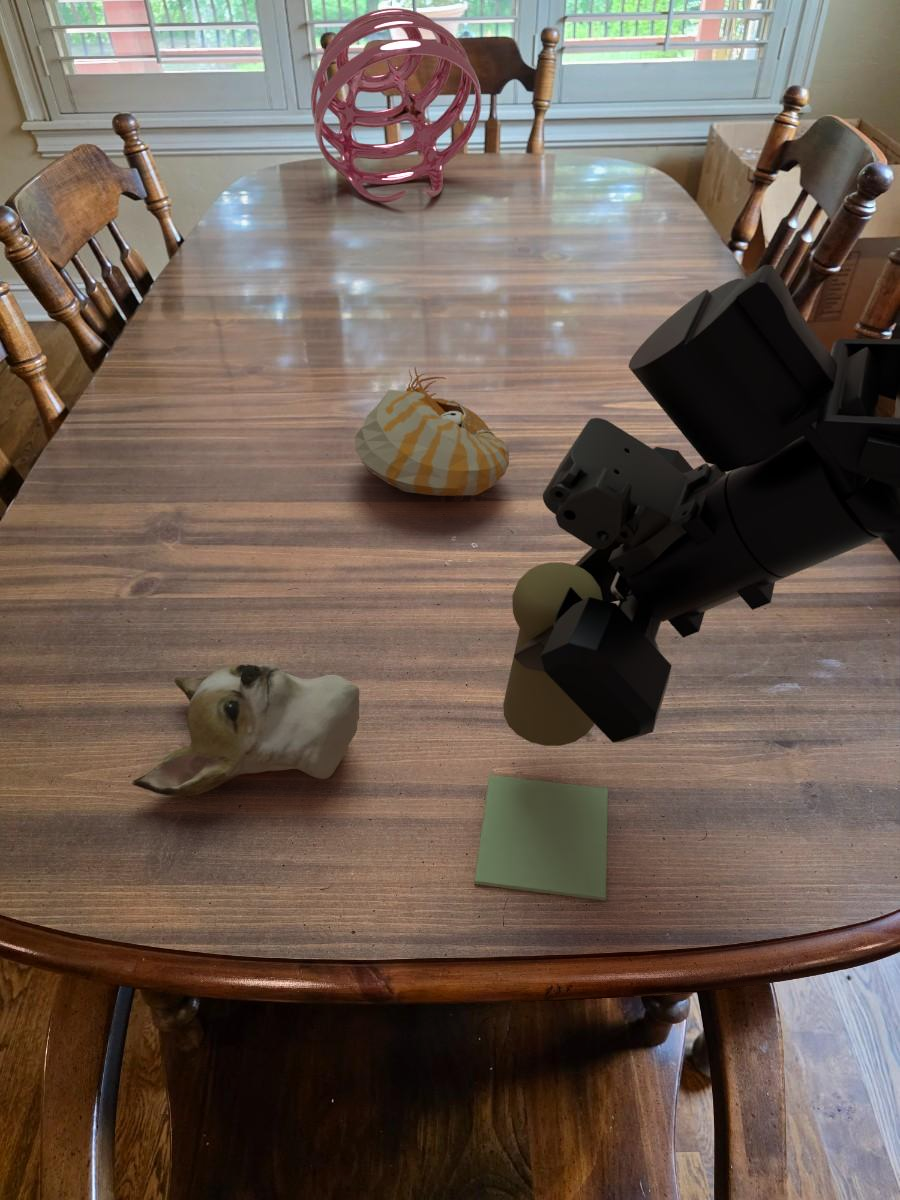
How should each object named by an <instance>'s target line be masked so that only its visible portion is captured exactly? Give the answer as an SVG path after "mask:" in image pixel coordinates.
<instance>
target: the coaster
mask: <svg viewBox="0 0 900 1200" xmlns="http://www.w3.org/2000/svg"><path fill="white" fill-rule="evenodd" d="M608 800H609V789H608V787H607V788H606V787H597V786H590V785H589V786H588V785H581V784H571V783H563V782H553V781H545V780H536V779H535V780H534V779H529V778H528V779H527V778H519V777H508V776H501V775H492V774H490V775H488V782H487V789H486V795H485V802H484V809H483V810H484V811H483V817H482V825H481V831H480V838H479V845H478V851H477V852H478V853H477V860H476V867H475V873H474V874H475V875H474V885H480V886H487V887H496V888H503V889H509V890H510V889H511V890H518V891H526V892H534V893H540V894H541V893H542V894H548V895H556V896H564V897H571V898H572V897H573V898H580V899H581V898H582V899H588V900H595V901H603V902H604V901H606V900H607V863H608V862H607V861H608V859H607V858H608V812H609V811H608V806H609V801H608Z"/></svg>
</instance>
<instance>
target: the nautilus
mask: <svg viewBox="0 0 900 1200" xmlns="http://www.w3.org/2000/svg"><path fill="white" fill-rule="evenodd" d="M416 368H417V367H416V366H414V375H415V378H414V380H413V375H412V374H411V369H408V373H409V377H410V382H409V383H408V384H407V388H406V390H398V389H397V390H396V389H388V390H387V392H386V393H385V394H384V396H383V397H382V398H381V399H380V401H379V402H378V404H377V405H376V406H375V407H374V408H373V409H372V410H371V411H369V413H368V414H367V415H366V416H365V417H366V418H365V419H364V422H363V424H362V426H361V427H360V429H359V430H358V432H357V433H356V434H355V436H354V450H355V452H356V454H357V456H358V457H359V459H360V461H361V462H362V464H364V465H365V466H366V467H367V470H369V471H370V472H371V473H372V474H374V475H375V476H376V477H378V478H380V479H381V480H382V481H384V482H385V483H386V484H389V485H391V486H393V487H394V488H397V489H399V490H401V491H402V492H404V493H412V494H420V495H426V496H427V495H428V496H437V497H438V496H440V497H441V496H442V497H443V496H444V497H446V496H448V497H449V496H451V497H454V496H477V495H479V494H482V493H483V492H485V491H487V490H488V489H490V488H491V487H493V486H494V485H496V484H497V483H498V482H499V481H500V479H501V478H502V477H503V476H504V475H505V474H506V472H507V469H508V468H509V465H510V450H509V448H508V446H507V444H506V443H505V442H504V440H502V439H500V438H499V437H497V436H496V435H495V434H494V433H493V431H491V430H490V428H489V426H488V425H487V424H486V422H485V421H484V420H483V419H482V418H481V417H479V415H477V413H476V412H474V411H472V410H470V409H469V408H466V407H465V406H463V405H462V404H460V403H458V402H457V401H455V400H448V399H445V398H442V397H438V398H437V397H436V398H435V397H434V398H432V397H433V396H435V395H436V394H437V392H436V393H435V392H434V393H431V394H429V393H428V392H429V390H427V388H428V387H429V386H430V385H432V384H434V383H436V382H437V381H436V379H442V380H443V379H444V380H447V378H446V377H443V376H430V377H426V378H422V379H419V378H420V377H422V376H424V375H425V373H421V374H419V375H418V372H417V369H416ZM434 379H435V380H434ZM431 380H433V381H431ZM426 381H431V382H429V383H427V384H426V385H425V386H424V387H423V385H422V382H426ZM418 386H419V387H418Z"/></svg>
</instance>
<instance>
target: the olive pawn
mask: <svg viewBox="0 0 900 1200" xmlns="http://www.w3.org/2000/svg"><path fill="white" fill-rule="evenodd" d="M570 587H572V589H573V590H574V591H575V592H576V593H577V594H578V595H579V596H580V597H581V598H582V599H583V600H584V599H586V598H589V597H592V598H596V599H600V600H603V599H602V594H601V589H600V587H599V585H598V584H597V582H596V581H595V579H594V578H593V577H592V575H591V574H589V573H588V572H587V571H586V570H584V569H583V568H580V567H578V566H575V564H573V563H567V562H562V561H560V562H557V561H554V562H553V561H551V562H545V563H542V564H538V565H536V566H534V567H532V568H530V569H529V570H527V571H526V573H524V574H523V575H522V576H521V577H520V578H519V580H518V581H517V583H516V585H515V588H514V590H513V593H512V601H511V602H512V603H511V604H512V614H513V617H514V620H515V622H516V623H517V626H518V628H519V629H518V634H517V638H516V643H515V648H514V651H513V652H514V653H513V655H514V654H515V652H516V651H517V650H518V649H520V648H521V647H522V646H524V645H525V644H526V643H527V642H529V641H530V640H531V639H533V638H534V637H536V636H537V635H539V634H540V633H542V632H543V631H545V630H546V629H548V628H549V627H550V626H552V625H553V624H554V620H555V617H556V614H557V612H558V610H559V608H560V606H561V604H562V602H563V600H564V598H565V595H566V593H567V591H568V589H569V588H570ZM502 704H503V707H502V708H503V718H504V719H505V722H506V723H507V725H508V727H509V728H510V729H511V730H512V731H513V732H514V733H515V734H516V735H517V737H520V738H522V739H524V740H526V741H528V742H529V743H532V744H537V745H541V746H545V747H561V746H565V745H569V744H572V743H576V742H577V741H579V740H580V739H582V738H584V737H586V736H587V734H589V732H590V731H591V729H592V728H593V727H594V726H595V724H594V723H593V722H592V721H591V719H590V718H589V717H588V716H587V715H586V714H585V713H584V712H583V711H582V710H581V709H580V708H579V707H578V706H577V705H576V704H575V703H574V702H573V701H572V700H571V699H570V698H569V696H568V695H567V694H566V693H565V692H564V691H563V690H562V689H561V688H560V687H559V686H558V685H557V684H556V683H555V682H554V681H553V680H552V679H551V678H550V677H549V676H548V675H547V674H546V672H543V671H537V670H531V669H526V668H524V667H522V666H521V665H520V664H519V663H518V661H517V660H516V659H515V658H514V656H513V658H512V662H511V667H510V671H509V676H508V681H507V685H506V690H505V694H504V699H503V703H502Z"/></svg>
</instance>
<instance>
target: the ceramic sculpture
mask: <svg viewBox="0 0 900 1200" xmlns="http://www.w3.org/2000/svg"><path fill="white" fill-rule="evenodd" d="M174 684H175V685H176V686H177V687H178V688H179V689H180V690H181V691H182V693H184V695H185V696H186V698H187V699H188V701H189V705H188V709H187V728H188V732H189V736H190V740H191V743H190V744H189V745H185V746H183V747H182V748H180V749H178V750H175V751H173V752H171V753H170V754H168V755H167V756H166V757H164V758H163V760H162V762H160V763H159V764H157V766H156V767H154V768H153V769H152V770H150V771H149V772H148V773H146V774H143V775H142V776H140V777H138V778H136V779H134V780H132V781H131V785H132V786H135V787H138V788H141V789H144V790H147V791H150V792H152V793H155V794H159V795H165V796H177V797H189V796H190V797H191V796H197V795H201V794H203V793H207V792H209V791H211V790H213V789H215V788H217V787H219V786H221V785H222V784H224V783H227V782H228V781H231V780H234V779H235V778H236V777H237V776H239V775H245V774H259V773H264V772H274V771H275V772H276V771H278V772H279V771H287V770H298V771H301V772H303V773H305V774H307V775H308V776H309V777H312V778H315V779H319V780H326V779H329V778H330V777H331V776H332V775H333V774H334V773H335V771H336V770H337V768H338V766H339V764H340V763H341V761H342V760H343V758H344V757H345V755H346V754H347V751H348V748H349V746H350V743H351V742H352V741H353V738H354V737H355V735H356V733H357V731H358V723H359V720H360V688H359V687H358V685H356V684H353V683H352V682H350V680H348V679H346V678H344V677H343V676H341V675H337V674H327V675H323V676H319V677H314V678H309V679H307V678H306V679H305V678H301V677H299V676H298V677H297V676H295V675H292V674H289V673H286V672H284V671H282V670H280V669H279V668H278V667H277V666H276V665H275V664H270V663H267V664H266V663H262V664H259V665H258V664H257V665H254V664H253V665H252V664H238V665H227V666H222V667H220V668H218V669H216V670H215V671H213V672H212V673H210V674H209V675H208V676H205V677H203V678H190V677H175V678H174Z"/></svg>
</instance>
